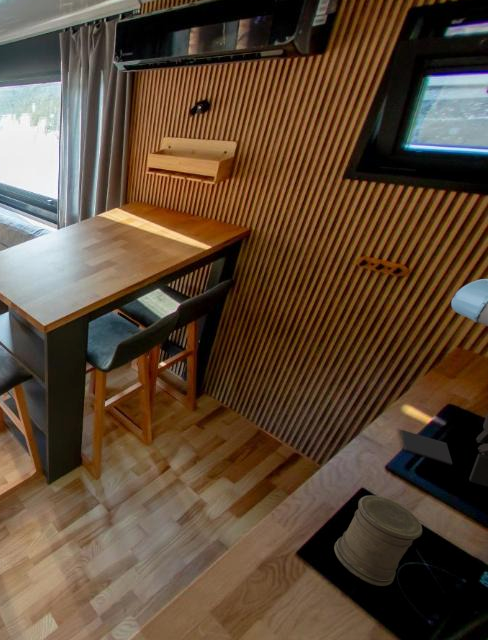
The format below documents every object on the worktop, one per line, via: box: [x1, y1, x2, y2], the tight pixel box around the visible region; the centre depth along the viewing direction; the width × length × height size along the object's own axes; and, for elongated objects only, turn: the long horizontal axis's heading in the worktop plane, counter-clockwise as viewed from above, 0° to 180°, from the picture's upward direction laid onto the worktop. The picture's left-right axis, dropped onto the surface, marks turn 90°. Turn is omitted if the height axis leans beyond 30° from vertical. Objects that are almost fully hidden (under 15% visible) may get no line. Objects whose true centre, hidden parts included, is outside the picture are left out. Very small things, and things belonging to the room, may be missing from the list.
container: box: [333, 495, 423, 587], centre depth 76 cm, size 9×9×18 cm
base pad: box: [400, 429, 453, 466], centre depth 99 cm, size 8×8×1 cm
